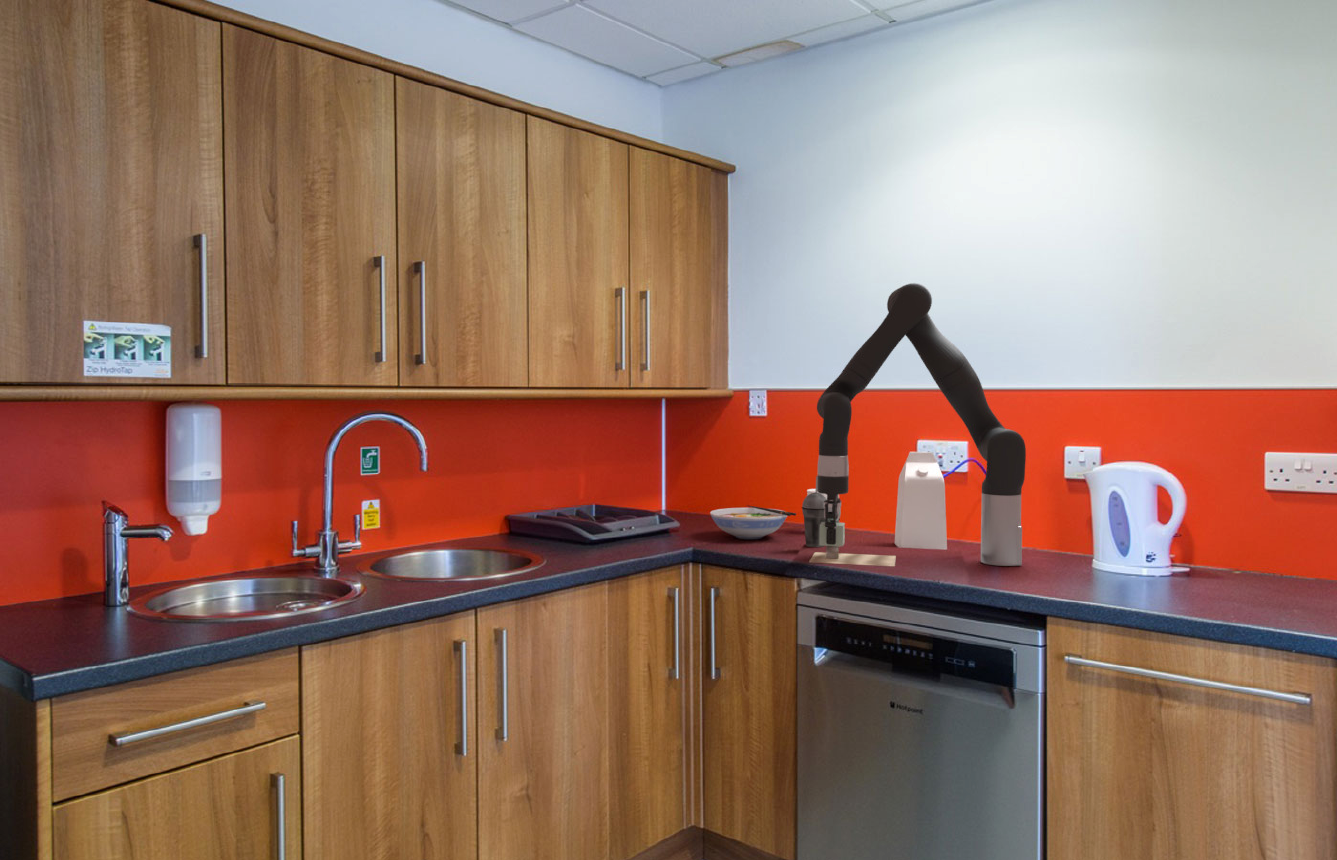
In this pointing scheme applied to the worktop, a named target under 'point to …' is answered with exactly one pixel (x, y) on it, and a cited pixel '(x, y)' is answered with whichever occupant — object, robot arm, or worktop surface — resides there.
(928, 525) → the milk
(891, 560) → the post board
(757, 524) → the ramen bowl
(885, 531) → the worktop surface
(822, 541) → the grey-green block
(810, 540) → the beverage cup
